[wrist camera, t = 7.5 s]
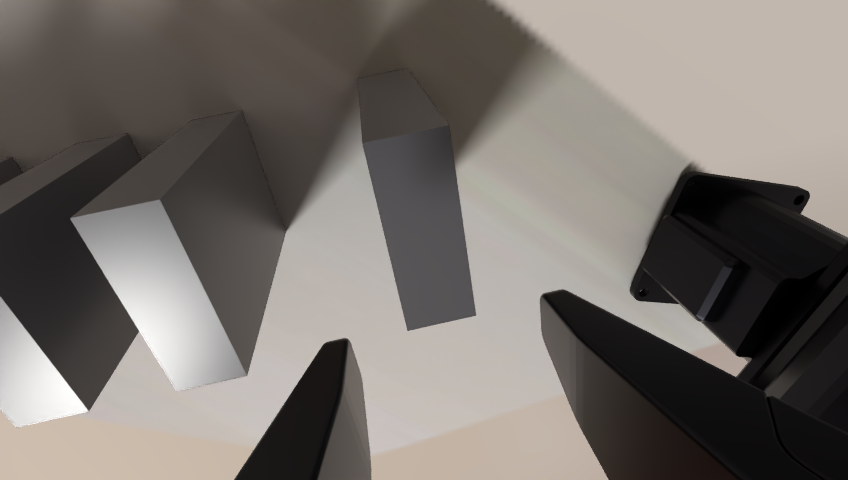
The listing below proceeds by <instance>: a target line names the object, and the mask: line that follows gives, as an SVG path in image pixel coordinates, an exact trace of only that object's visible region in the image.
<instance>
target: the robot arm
mask: <svg viewBox="0 0 848 480" xmlns="http://www.w3.org/2000/svg"><path fill="white" fill-rule="evenodd" d="M693 181H694V183H693V185H692V186H691V187H689V185H690V184H691V182H693ZM809 198H810V194H809V192H808V191H806V190H804V189H802V188H800V187H797V186H790V185H783V184H776V183H770V182H763V181H755V180H749V179H742V178H735V177H729V176H722V175H715V174H708V173H701V172H694V171H692V172H688V173H685V174H684V175H683V176H682V177H681V178H680V180H679V181H678V184H677V186H676V188H675V190H674V192H673V195H672V197H671V199H670V201H669V203H668V206H667V208H666V210H665V212H664V214H663V217H662V219H661V221H660V223H659V225H658V228H657V230H656V232H655V234H654V236H653V239H652V241H651V243H650V245H649V247H648V249H647V252H646V254H645V256H644V258H643V260H642V263H641V265H640V267H639V269H638V271H637V274H636V276H635V278H634V280H633V282H632V285H631V287H630V293H631V295H632V296H633V297H634V298H635V299H636V300H638V301H646V302H659V303H672V304H680V305H681V306H682V307H683V308H684V309H685V310H686V311H687V312H688V313H689V314H691V315H692V316H693V317H694V318H695V319H696V320H697V321H700V322H702V323H703V324H704V325H705V326H706V327H707V328H708V329H709V330H710V331H711V332H712V333H713V334H714V335H715V336H716V337H717V338H718V339H719V340H721V341H722V342H723V343H724V344H725V345H726V346H727V347H728V348H729V349H730V350H731V351H732V352H733V353H734V354H735V355H736V356H739V357H743V358H744V359H745V360H746V361H748V363H747V365H746V366H745V367H744V368H743V369H742V371H741V372H740V373H739V374H738V375H737V376H736V377H735V376H732V375H731V374H728V373H727V372H725V371H723V370H721V369H719V368H717V367H715V366H713V365H711V364H709V363H707V362H705V361H703V360H702V359H699V358H698V357H696V356H694V355H692V354H690V353H688V352H686V351H684V350H682V349H680V348H678V347H676V346H674V345H672V344H670V343H668V342H666V341H664V340H662V339H660V338H659V337H657V336H655V335H653V334H651V333H649V332H647V331H645V330H643V329H641V328H639V327H637V326H635V325H633V324H631V323H629V322H627V321H625V320H623V319H621V318H619V317H617V316H616V315H614V314H612V313H610V312H608V311H606V310H604V309H602V308H600V307H598V306H596V305H594V304H592V303H590V302H588V301H586V300H584V299H582V298H580V297H578V296H576V295H574V294H573V293H571V292H569V291H566V290H563V289H562V290H556V291H552V292H547V293H544V294H542V296H541V298H540V312H541V330H542V336H543V339H544V343H545V345H546V348H547V350H548V352H549V355H550V357H551V360H552V362H553V365H554V367H555V370H556V372H557V374H558V377H559V379H560V382H561V384H562V387H563V389H564V392H565V394H566V396H567V399H568V401H569V404H570V406H571V408H572V411H573V413H574V415H575V418H576V420H577V422H578V424H579V426H580V428H581V430H582V432H583V434H584V435H585V437H586V439H587V441H588V443H589V444H590V446H591V448H592V450H593V452H594V454H595V456H596V457H597V459H598V461H599V463H600V465H601V466H602V468H603V470H604V472H605V474H606V476H607V477H608V479H609V480H848V238H847V237H845V236H843V235H841V234H839V233H837V232H835V231H833V230H831V229H829V228H827V227H825V226H823V225H821V224H819V223H817V222H815V221H813V220H811V219H809V218H807V217H805V216H803V215H801V212H802V210H803V209H804V207H805V206H806V204H807V202H808V200H809ZM643 288H644V289H643ZM642 289H643V290H642ZM640 290H642V291H641V292H640ZM234 480H371V460H370V448H369V439H368V430H367V420H366V411H365V402H364V392H363V383H362V378H361V373H360V370H359V367H358V364H357V361H356V358H355V354H354V351H353V348H352V345H351V343H350V341H349V340H348V339H347V338H343V339H338V340H334V341H329V342H326V343H325V344H324V345H323V346H322V347H321V349H320V350H319V352H318V353H317V355H316V356H315V358H314V359H313V361H312V362H311V364H310V366H309V367H308V369H307V370H306V372H305V373H304V375H303V376H302V378H301V379H300V381H299V382H298V384H297V385H296V387H295V388H294V390H293V391H292V393H291V394H290V396H289V397H288V399H287V400H286V402H285V403H284V405H283V406H282V408H281V409H280V411H279V413H278V414H277V416H276V417H275V419H274V420H273V422H272V423H271V425H270V426H269V428H268V429H267V431H266V432H265V434H264V435H263V437H262V438H261V440H260V441H259V443H258V444H257V446H256V447H255V449H254V450H253V452H252V453H251V455H250V457H249V458H248V460H247V461H246V463H245V464H244V466H243V467H242V469H241V470H240V472H239V473H238V475H237V476H236V478H235V479H234Z"/></svg>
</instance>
